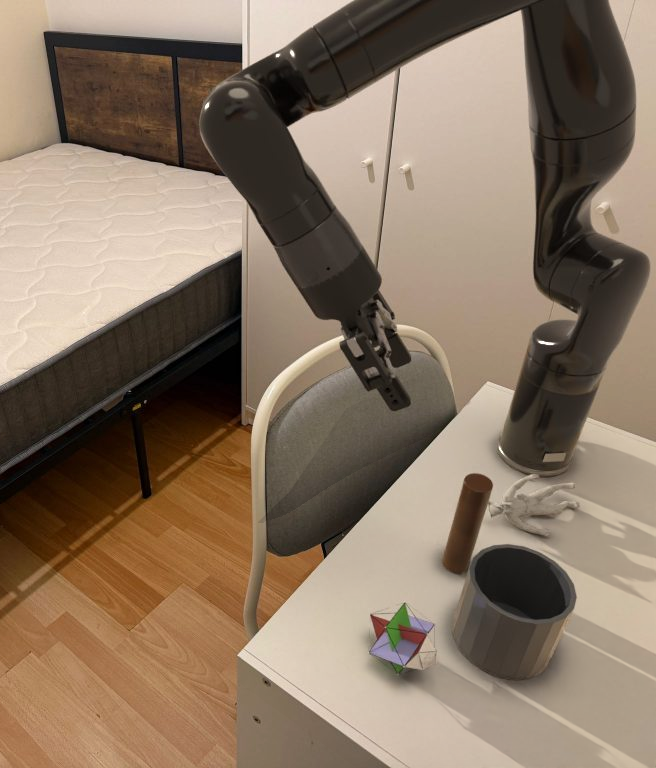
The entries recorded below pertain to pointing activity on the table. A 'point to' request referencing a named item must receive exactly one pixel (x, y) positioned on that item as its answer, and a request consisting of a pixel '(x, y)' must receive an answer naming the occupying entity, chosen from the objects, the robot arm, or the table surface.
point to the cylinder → (467, 522)
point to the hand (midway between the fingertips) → (402, 384)
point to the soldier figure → (529, 504)
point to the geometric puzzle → (404, 640)
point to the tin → (512, 611)
